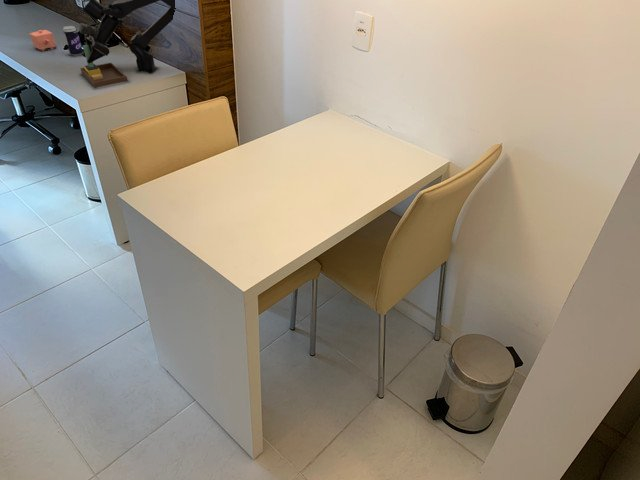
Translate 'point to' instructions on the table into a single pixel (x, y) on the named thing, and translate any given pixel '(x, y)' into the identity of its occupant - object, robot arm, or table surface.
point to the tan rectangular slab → (97, 76)
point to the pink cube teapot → (43, 39)
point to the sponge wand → (90, 68)
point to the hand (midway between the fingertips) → (85, 59)
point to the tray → (106, 75)
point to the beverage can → (72, 40)
